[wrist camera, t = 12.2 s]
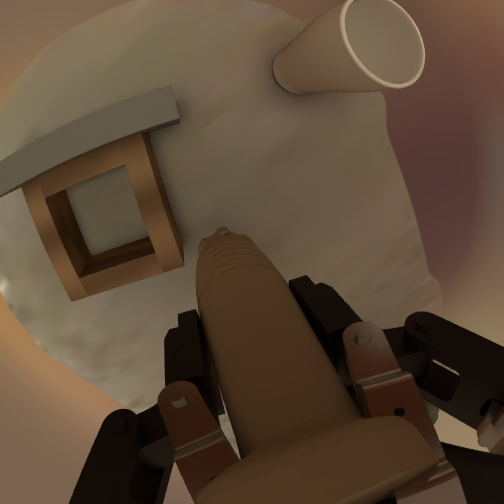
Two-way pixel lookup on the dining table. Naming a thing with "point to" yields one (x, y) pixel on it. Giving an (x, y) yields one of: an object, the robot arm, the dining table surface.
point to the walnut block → (69, 235)
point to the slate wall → (89, 136)
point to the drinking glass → (353, 50)
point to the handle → (289, 395)
